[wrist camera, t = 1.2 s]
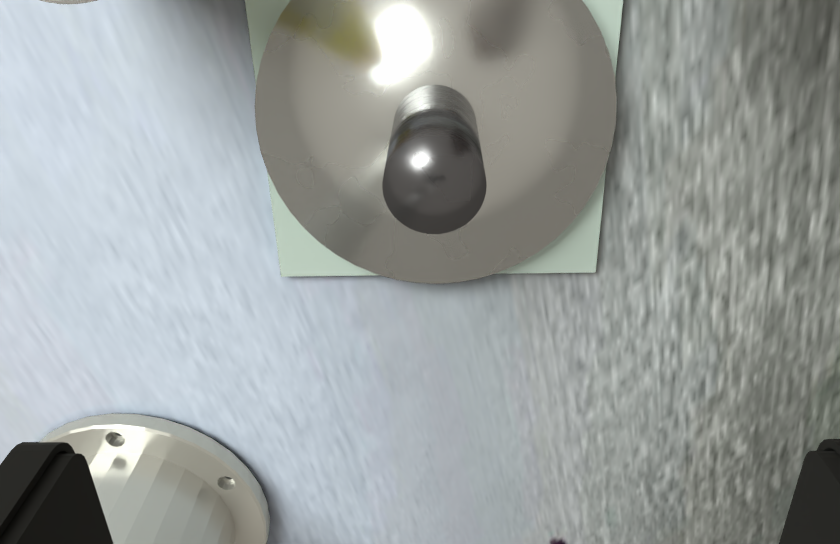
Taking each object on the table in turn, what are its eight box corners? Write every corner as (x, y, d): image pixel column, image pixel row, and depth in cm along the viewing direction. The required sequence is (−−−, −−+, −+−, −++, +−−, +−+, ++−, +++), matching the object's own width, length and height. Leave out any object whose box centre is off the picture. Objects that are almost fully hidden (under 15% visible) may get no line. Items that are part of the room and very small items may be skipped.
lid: (595, 272, 30) (635, 370, 24) (281, 276, 30) (242, 373, 24) (631, -80, 23) (698, -69, 17) (236, -69, 24) (168, -55, 18)
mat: (593, 267, 30) (595, 272, 30) (282, 272, 30) (281, 276, 30) (628, -80, 24) (631, -80, 23) (238, -70, 24) (235, -69, 24)
